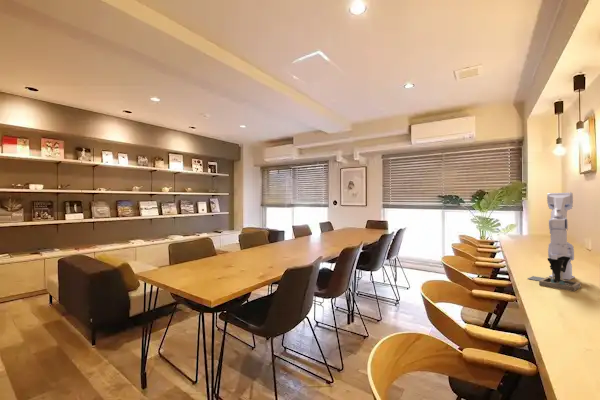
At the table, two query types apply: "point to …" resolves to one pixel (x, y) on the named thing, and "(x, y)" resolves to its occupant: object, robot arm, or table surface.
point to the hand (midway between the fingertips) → (559, 273)
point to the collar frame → (571, 287)
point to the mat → (535, 278)
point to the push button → (558, 277)
